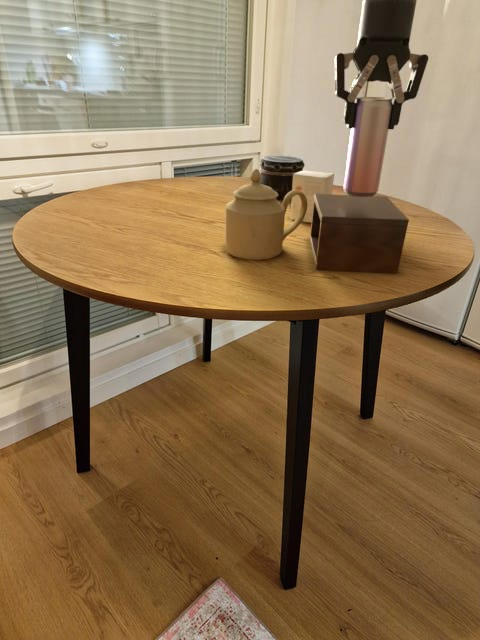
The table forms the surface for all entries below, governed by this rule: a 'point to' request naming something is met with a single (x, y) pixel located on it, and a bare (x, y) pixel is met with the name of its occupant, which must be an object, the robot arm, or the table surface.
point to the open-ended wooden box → (357, 233)
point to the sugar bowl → (258, 220)
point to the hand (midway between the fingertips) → (369, 127)
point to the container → (280, 173)
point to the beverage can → (367, 146)
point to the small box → (309, 190)
